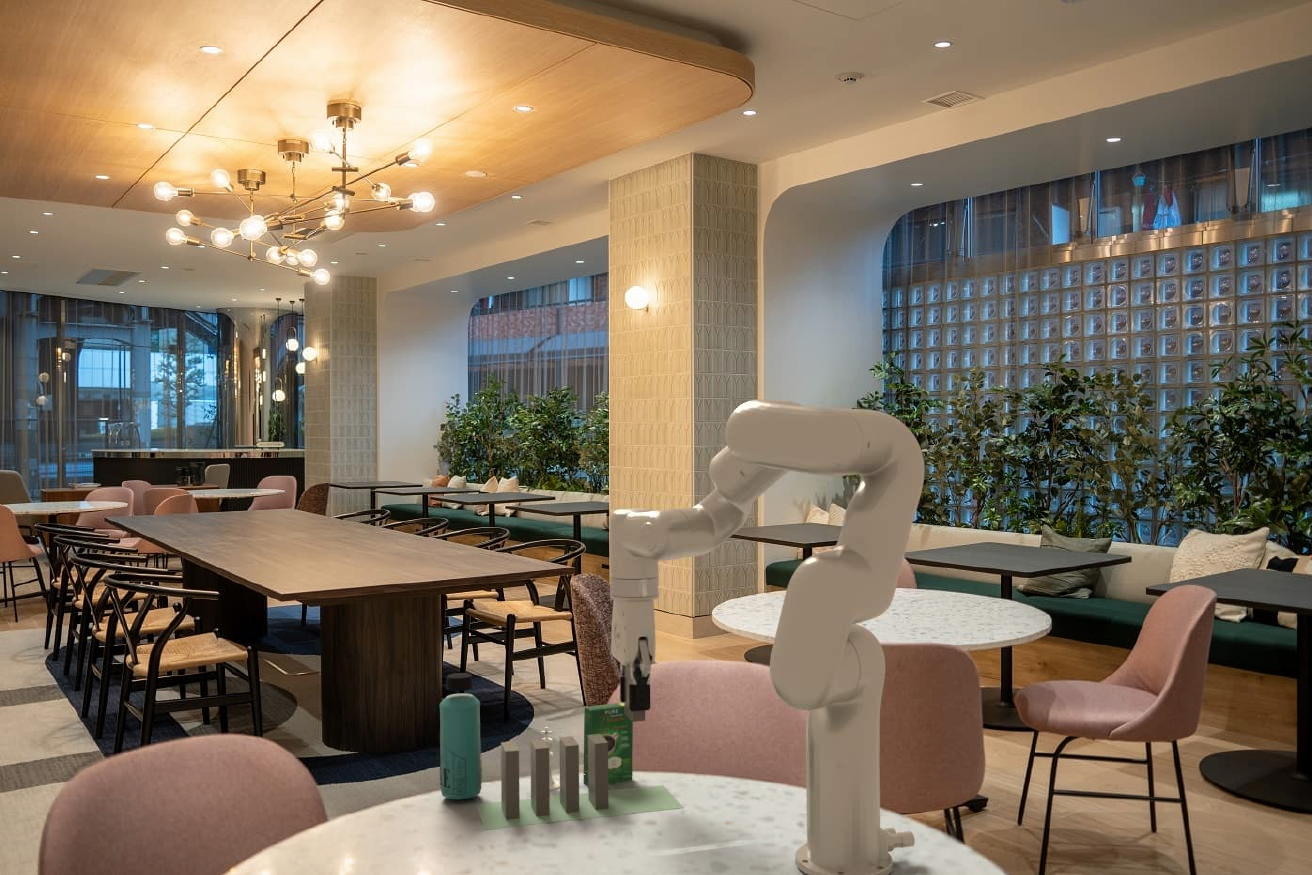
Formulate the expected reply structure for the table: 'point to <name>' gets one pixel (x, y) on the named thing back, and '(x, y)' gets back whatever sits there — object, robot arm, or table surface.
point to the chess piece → (552, 783)
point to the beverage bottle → (460, 740)
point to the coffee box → (611, 739)
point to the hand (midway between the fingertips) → (635, 704)
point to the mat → (582, 807)
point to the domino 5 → (630, 714)
